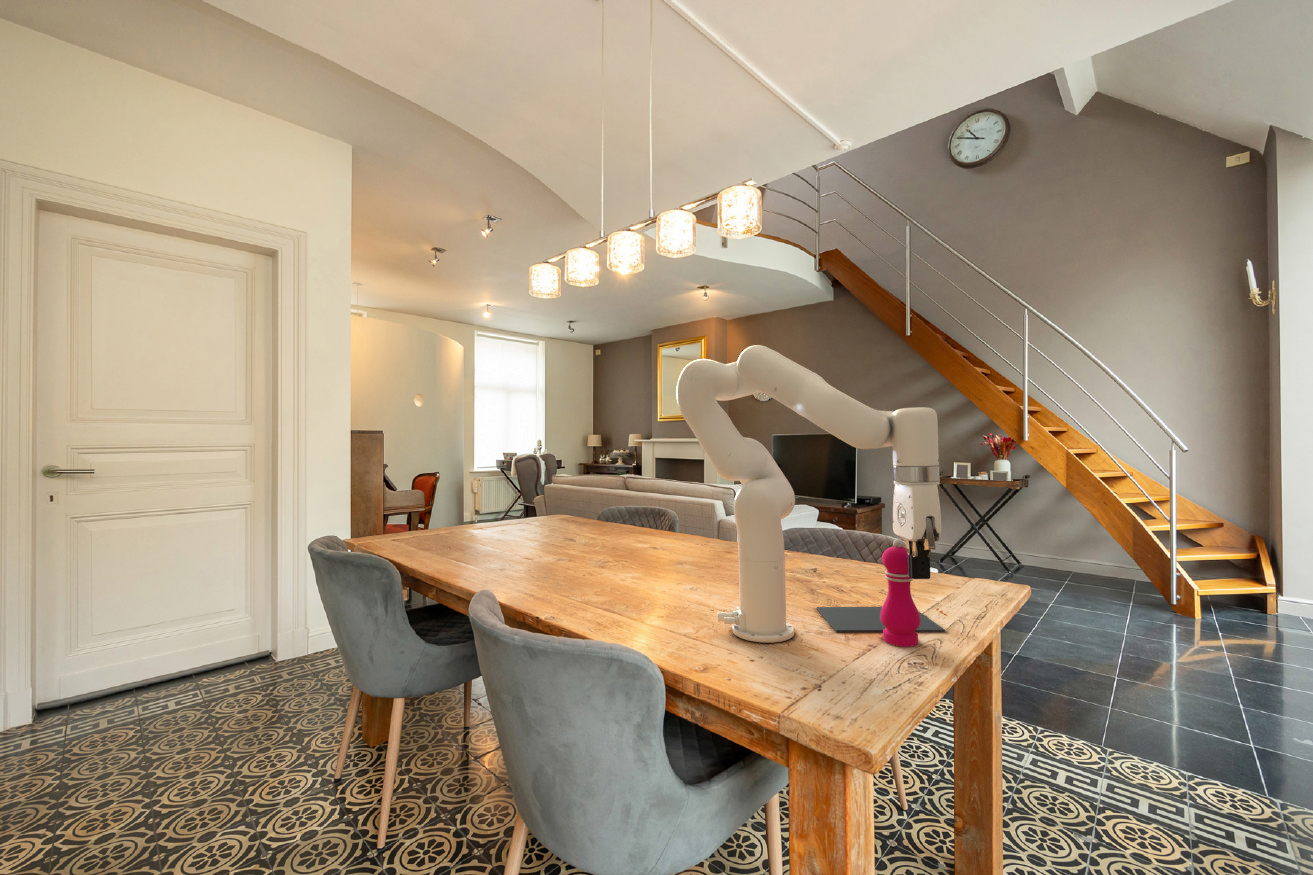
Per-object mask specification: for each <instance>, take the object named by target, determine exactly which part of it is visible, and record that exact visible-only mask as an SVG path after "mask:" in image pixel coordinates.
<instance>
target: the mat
mask: <svg viewBox="0 0 1313 875" xmlns="http://www.w3.org/2000/svg"><path fill="white" fill-rule="evenodd" d="M881 609H882V606H816V610H817V612H818V613H819V614H820V615H821V617H823V619H824V620H825V621H826V622H827V623H828V624H829V626H830V627H831V628H832V629H833V630H834V631H835V633H883V630H884V629H885V628H886V627H885V626H884V625H883V624H882V622H881V620H880V612H881ZM918 612H919V615H920V622H921V623H920V626H919V627H918V628H917V629H916V630H915V632H917V633H946V630H945V629H946V628H945V629H944V628H943V627H942V626H941V625H939V624H937V623H936V622H934V621H933V620H932V619H930V618H929V617H927V616H926V615H925V614H923V613H922V612H920V611H919V610H918Z"/></svg>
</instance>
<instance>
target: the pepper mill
mask: <svg viewBox="0 0 1313 875" xmlns="http://www.w3.org/2000/svg"><path fill="white" fill-rule="evenodd" d="M902 540H903V539H901V538H895V539H894V540H893V542H892V545H893V546H890V547H888V548H886V549H885V550H884V552H883V553H882V556H881V562H882V566H884V568H885V569H886V570H885V571H884V573H885V576H884V578H885V579H886V580H887V595H886V598H885V600H884V602H883V604H882V605H881V607H882V609H881V612H880V620H881V622H882V624H883V625H884V626H885V627H886V628H885V629H884V630H883V632H882V639H883V641H884V642H885V643H887V644H889V645H893V646H896V647H903V648H912V647H915V646H917V645H918V644H919V633H918V632H915V630H916V629H917V628H918V627H919V626H920V623H921V622H920V615H919V612H920V611H919V610H918V608H917V606H916V604H915V602H914V599H913V597H912V592H911V582H912V581H913V580H914V579H913V578H911V577H909V575H908V554H907V548H906V547H904V546H903V545H904V542H903V541H902ZM918 611H919V612H918Z"/></svg>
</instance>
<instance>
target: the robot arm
mask: <svg viewBox="0 0 1313 875" xmlns="http://www.w3.org/2000/svg"><path fill="white" fill-rule="evenodd" d="M760 393H764V394H765V395H767V396H769V397H770V398H772V399H773V400H775V401H777V402H778V403H780V404H782V405H783V406H785V407H786V408H788V409H790V410H792V411H793V412H795V413H796V414H798V415H799V416H801V417H803V418H805V419H806V420H807V421H809V422H811V423H812V424H814V425H815V426H817V427H819V428H821V429H822V430H823V431H825V432H827V433H828V434H830V435H832V436H834V437H835V438H837V439H838V440H841V441H842V442H844V443H846V444H848V445H849V446H851V447H853V448H856V449H859V450H876V449H882V448H889V447H891V449H892V475H893V476H892V478H893V485H894V488H893V498H892V531H893V532H892V533H894V535H896V536H897V537H900V538H902V540H903V541H904V542H905V545H906V546H905V548H907V554H908V575H909V577H911V578H913V580H930V579H931V556H932V551H935V550H936V548H937V547H936V542H939V541H940V540H941V538H942V512H941V502H940V501H941V500H940V494H939V489H938V485H940V484H941V483H940V482H941V479H940V455H939V454H940V453H939V423H938V422H939V421H938V413H937V411H936V410H935V409H934V408H931V407H926V406H925V407H924V406H920V407H917V406H916V407H903V408H898V409H896V410H895V411H894V410H880V409H875V408H872V407H870V406H869V405H866V404H865V403H862V402H861V401H859V400H857V399H855V398H853V397H851V396H850V395H848V394H846V393H844V392H842V391H840V390H839V389H837V388H836V387H834V386H832V385H831V384H829V383H828V382H827V381H826V380H825V379H824V378H823V377H822V376H820V375H819V374H818V373H816V372H815V371H812V370H810V369H809V368H807V367H805V366H804V365H801V364H799V363H797V362H795V361H794V360H792V359H790V358H788V357H786V356H784V355H783V354H782V353H780V352H778V351H776V350H774V349H771V348H770V347H767V346H766V345H760V344H757V345H756V344H755V345H754V344H753V345H751V346H747V347H746V348H745V349H744V350H743V351H742V352H741V353H740V355H739V357H738V358H737V361H734V362H730V363H723V362H719V361H717V360H713V359H708V358H701V359H700V358H699V359H696V360H693V361H691V362H689V363H688V364H686V365H685V367H684V368H683V369H682V371H681V372H680V375H679V377H678V380H677V384H676V392H675V394H676V402H677V406H678V409H679V411H680V413H681V416H682V417H683V419H684V421H685V422H686V424H687V425H688V428H689V429H690V430H691V431H692V433H693V435H694V436H695V438H696V440H697V442H698V443H699V445H700V447H701V448H702V450H703V452H704V454H705V455H706V457H707V458H708V460H709V462H710V463H711V465H712V467H713V468H714V470H715V472H716V473H717V475H718V476H719V477H720V478H721V479H723V480H725V481H728V482H740V484H741V485H742V486H741V487H740V488H739V489H738V491H737V492H736V495H735V497H734V499H733V500H734V501H733V515H734V521H735V527H736V536H737V557H738V599H739V606H736V610H731V611H732V612H726V611H717V613H716V614H717V615H716V616H717V617H716V618H717V622H718V623H719V622H720V623H721V622H723V624H724V625H731V626H732V627H731V628H732V633H733V634H734V635H735V636H736V637H738V638H740V639H742V640H744V641H745V640H746V641H749V642H754V643H766V644H767V643H769V644H770V643H772V644H773V643H781V642H784V641H788V640H790V639H792V638H793V637H794V636H795V627H794V625H792V624H791V623H789V622H787V591H786V590H787V589H786V588H787V587H786V556H785V555H786V553H785V552H786V550H785V537H784V532H783V526H782V520H783V519H785V518H787V517H788V516H789V515H790V514H791V513H792V512H793V511H794V508H795V505H796V496H795V491H794V489H793V487H792V485H791V483H790V481H789V480H788V478H787V477H786V476H785V474H784V472H783V471H782V470H781V468H780V467H779V465H778V463H777V462H776V461H775V459H774V457H773V456H772V455H771V453H770V452H769V450H768V449H767V447H765V445H764V444H762V442H760V441H758V440H757V439H755V438H751V437H745V436H743V435H742V434H741V433H740V431H739V430H738V429H737V427H736V426H735V424H734V423H733V421H732V420H731V417H730V416H729V415H728V414H727V412H726V411H725V410H724V408H722V406H720V404H719V403H718V401H720V402H726V401H731V400H736V399H740V398H745V397H748V396H752V395H756V394H760Z"/></svg>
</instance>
